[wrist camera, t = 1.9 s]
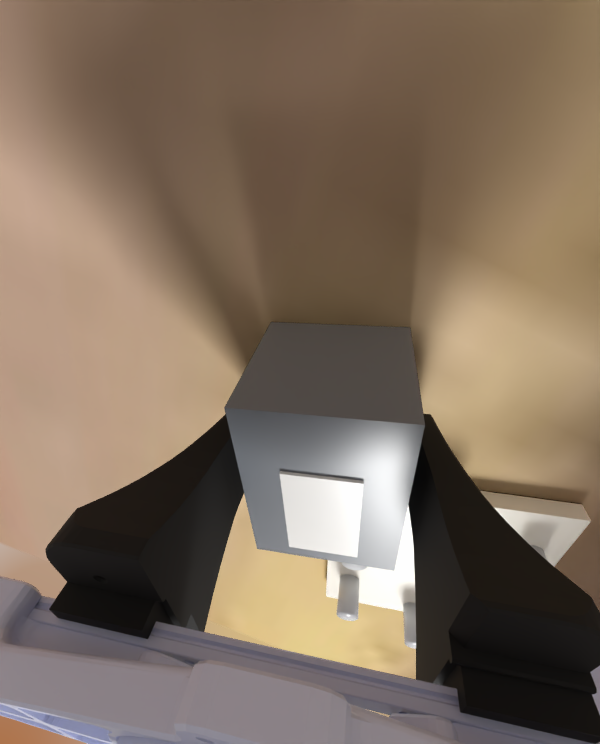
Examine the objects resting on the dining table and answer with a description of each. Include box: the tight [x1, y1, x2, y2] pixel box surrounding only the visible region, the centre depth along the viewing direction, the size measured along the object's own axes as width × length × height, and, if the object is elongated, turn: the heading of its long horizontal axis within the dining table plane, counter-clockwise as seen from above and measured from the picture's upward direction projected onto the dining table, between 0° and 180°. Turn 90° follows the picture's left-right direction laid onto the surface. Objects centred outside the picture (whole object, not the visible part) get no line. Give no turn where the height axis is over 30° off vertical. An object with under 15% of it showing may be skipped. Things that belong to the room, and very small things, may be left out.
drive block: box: [224, 322, 425, 571], centre depth 13 cm, size 7×5×5 cm
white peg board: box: [326, 491, 591, 649], centre depth 19 cm, size 12×11×3 cm
